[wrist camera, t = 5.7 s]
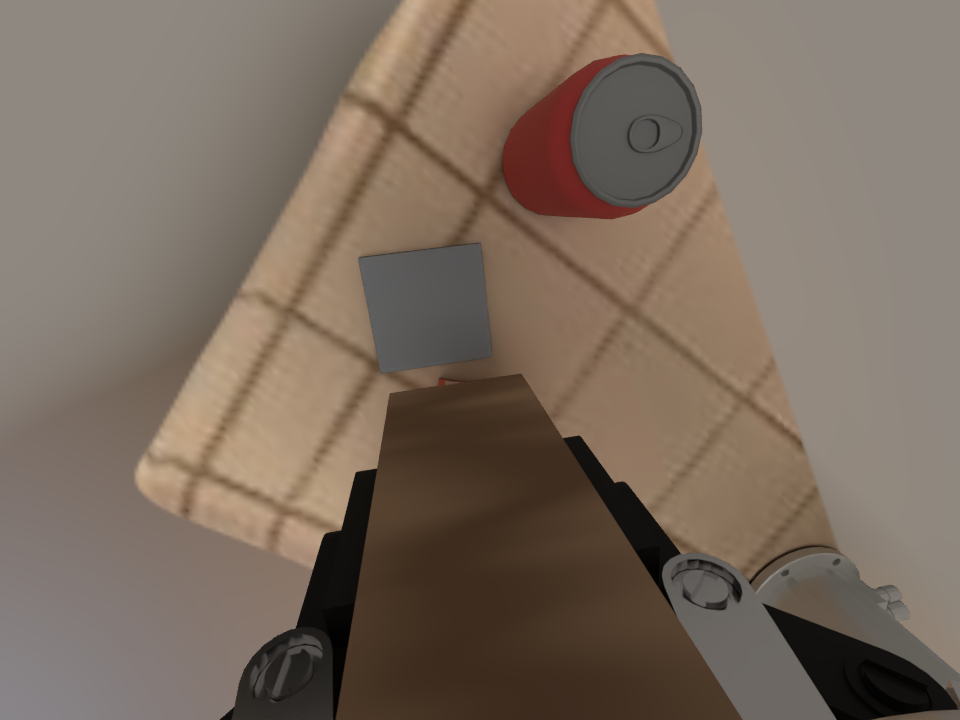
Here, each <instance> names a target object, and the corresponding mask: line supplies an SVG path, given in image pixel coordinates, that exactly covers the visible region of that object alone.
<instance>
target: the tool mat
mask: <svg viewBox="0 0 960 720" xmlns="http://www.w3.org/2000/svg"><path fill="white" fill-rule="evenodd" d="M358 260H359V265H360V270H361V276H362V281H363V286H364V291H365V296H366V301H367V306H368V311H369V316H370V322H371V327H372V332H373V337H374V342H375V347H376V352H377V357H378V362H379V367H380V373H381V374H382V373H389V372H395V371H402V370H409V369H415V368H422V367H429V366H435V365H442V364H449V363H455V362H462V361H469V360H476V359H482V358H489V357H492V348H491V338H490V329H489V319H488V309H487V299H486V290H485V280H484V270H483V260H482V250H481V243H473V244H464V245H456V246H448V247H440V248H432V249H424V250H416V251H407V252H399V253H391V254H383V255H375V256H367V257H359V258H358Z"/></svg>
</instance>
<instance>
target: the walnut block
mask: <svg viewBox="0 0 960 720" xmlns="http://www.w3.org/2000/svg"><path fill="white" fill-rule="evenodd" d="M336 720H743V719H742V718H741V716H740V715H739V713H738V711H737V710H736V708H735V707H734V705H733V704H732V702H731V700H730V699H729V697H728V696H727V694H726V693H725V691H724V690H723V688H722V686H721V685H720V683H719V682H718V680H717V679H716V677H715V675H714V674H713V672H712V671H711V669H710V668H709V666H708V665H707V663H706V661H705V660H704V658H703V657H702V655H701V654H700V652H699V650H698V649H697V647H696V646H695V644H694V643H693V641H692V640H691V638H690V636H689V635H688V633H687V632H686V630H685V629H684V627H683V625H682V624H681V622H680V621H679V619H678V618H677V616H676V615H675V613H674V611H673V610H672V608H671V607H670V605H669V604H668V602H667V600H666V599H665V597H664V596H663V594H662V593H661V591H660V590H659V588H658V586H657V585H656V583H655V582H654V580H653V579H652V577H651V575H650V574H649V572H648V571H647V569H646V568H645V566H644V565H643V563H642V561H641V560H640V558H639V557H638V555H637V554H636V552H635V550H634V549H633V547H632V546H631V544H630V543H629V541H628V540H627V538H626V536H625V535H624V533H623V532H622V530H621V529H620V527H619V526H618V524H617V522H616V521H615V519H614V518H613V516H612V515H611V513H610V511H609V510H608V508H607V507H606V505H605V504H604V502H603V501H602V499H601V497H600V496H599V494H598V493H597V491H596V490H595V488H594V486H593V485H592V483H591V482H590V480H589V479H588V477H587V476H586V474H585V472H584V471H583V469H582V468H581V466H580V465H579V463H578V461H577V460H576V458H575V457H574V455H573V454H572V452H571V451H570V449H569V447H568V446H567V444H566V443H565V441H564V440H563V438H562V436H561V435H560V433H559V432H558V430H557V429H556V427H555V426H554V424H553V422H552V421H551V419H550V418H549V416H548V415H547V413H546V411H545V410H544V408H543V407H542V405H541V404H540V402H539V401H538V399H537V397H536V396H535V394H534V393H533V391H532V390H531V388H530V386H529V385H528V383H527V382H526V380H525V379H524V377H523V376H522V374H516V375H510V376H503V377H496V378H489V379H483V380H476V381H469V382H463V383H456V384H449V385H443V386H436V387H429V388H422V389H416V390H409V391H402V392H396V393H390V395H389V401H388V407H387V414H386V420H385V426H384V432H383V438H382V444H381V450H380V456H379V462H378V468H377V474H376V480H375V486H374V492H373V498H372V504H371V510H370V516H369V522H368V528H367V534H366V540H365V546H364V552H363V558H362V564H361V570H360V576H359V582H358V588H357V595H356V601H355V607H354V613H353V619H352V625H351V631H350V637H349V643H348V649H347V655H346V661H345V667H344V673H343V679H342V685H341V691H340V697H339V703H338V709H337V715H336Z"/></svg>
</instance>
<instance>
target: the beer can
mask: <svg viewBox="0 0 960 720" xmlns="http://www.w3.org/2000/svg"><path fill="white" fill-rule="evenodd" d="M701 116H702V115H701V105H700V102H699V99H698V96H697V94H696V90H695V88H694V85H693V84H692V82H691V81H690V80H689V78H688V77H687V76H686V74H685V73H684V72H683V70H682V69H681V68H680V67H678V66H677V65H675V64H674V63H672V62H670V61H669V60H667V59H666V58H664V57H662V56H656V55H650V54H644V53H640V54H635V55H625V54H624V55H618V56H613V57H609V58H605V59H600V60H596V61H593V62H591V63H590V64H588V65H587V66H585V67H584V68H582V69H581V70H579V71H578V72H576V73H574V74H573V75H572V76H570V77H569V78H568V79H567V80H566V81H564V82H563V83H562V84H561V85H559V86H558V87H557V88H556V89H555V90H553V91H552V92H551V93H550V94H548V95H547V96H546V97H545V98H544V99H542V100H541V101H540V102H539V103H537V104H536V105H535V106H534V107H533V108H531V109H530V110H529V111H528V112H527V113H525V114H524V115H523V116H522V117H521V118H520V119H519V121H518V122H517V123H516V124H515V126H514V127H513V128H512V129H511V131H510V134H509V136H508V139H507V141H506V144H505V146H504V155H503V169H504V175H505V180H506V183H507V185H508V187H509V189H510V191H511V193H512V195H513V196H514V198H515V199H516V200H518V201H519V202H520V203H521V204H522V205H523V206H524V207H525V208H526V209H529V210H531V211H533V212H535V213H537V214H540V215H551V216H566V217H582V218H599V219H615V218H619V217H623V216H627V215H631V214H634V213H636V212H638V211H640V210H641V209H643V208H645V207H646V206H648V205H650V204H652V203H654V202H656V201H658V200H659V199H661V198H662V197H664V196H666V195H667V194H669V193H671V192H672V191H673V190H674V189H675V187H676V186H677V185H678V184H679V183H680V182H681V181H682V180H683V178H684V177H685V176H686V175H687V173H688V171H689V169H690V167H691V165H692V163H693V161H694V159H695V157H696V155H697V152H698V148H699V143H700V139H701V134H702V117H701Z"/></svg>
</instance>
